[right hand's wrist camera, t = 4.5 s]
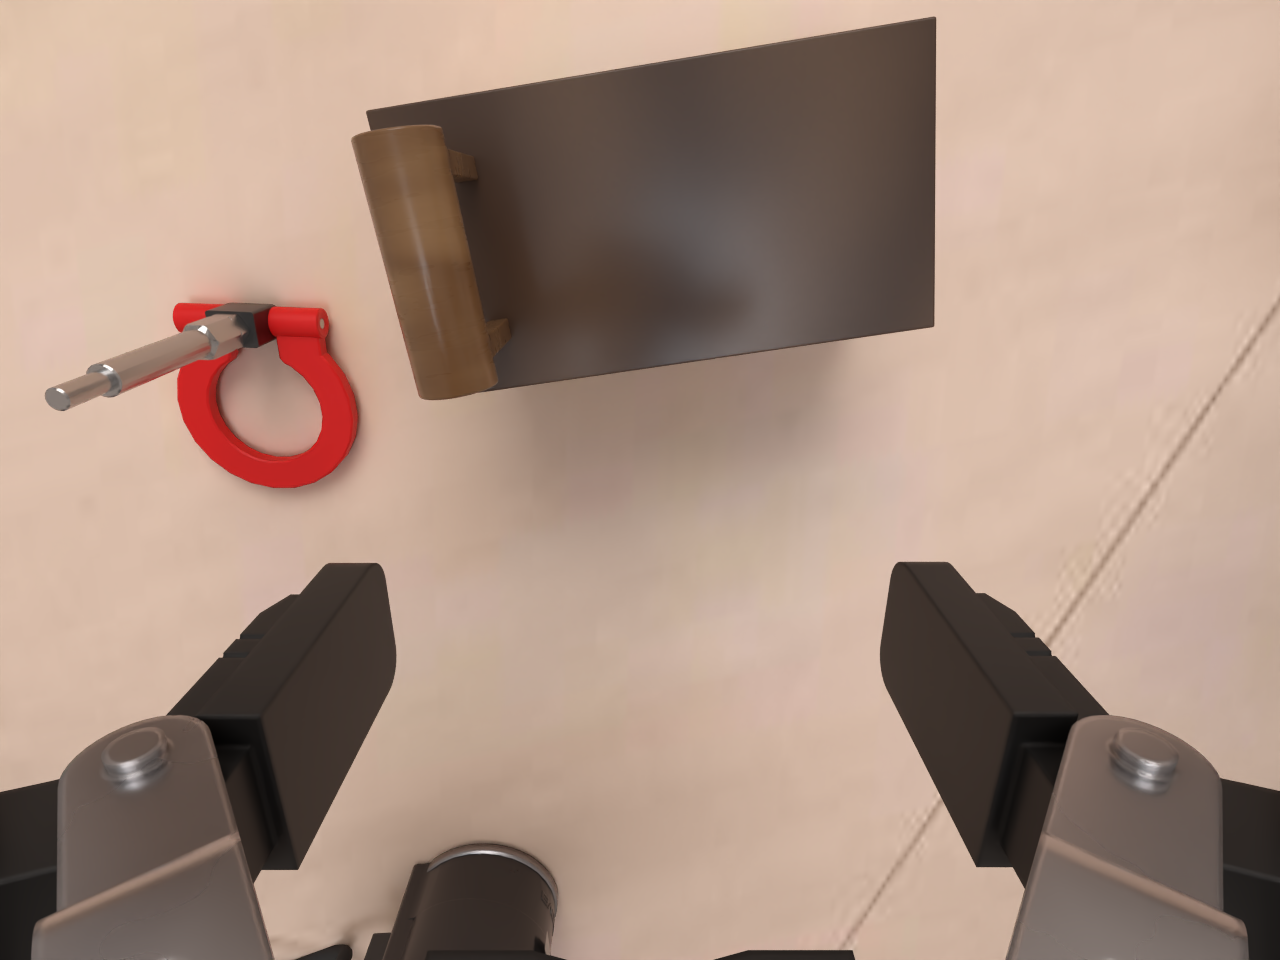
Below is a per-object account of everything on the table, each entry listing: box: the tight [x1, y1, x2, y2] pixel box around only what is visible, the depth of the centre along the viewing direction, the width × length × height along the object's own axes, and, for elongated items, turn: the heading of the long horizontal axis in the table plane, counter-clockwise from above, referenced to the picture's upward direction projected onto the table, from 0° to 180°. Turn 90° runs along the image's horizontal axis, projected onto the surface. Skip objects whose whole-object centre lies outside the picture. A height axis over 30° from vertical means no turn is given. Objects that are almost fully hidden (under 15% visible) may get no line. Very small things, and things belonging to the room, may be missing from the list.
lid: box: [351, 17, 936, 400], centre depth 20 cm, size 18×9×9 cm, turn 98°
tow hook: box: [45, 303, 358, 488], centre depth 29 cm, size 8×13×9 cm
